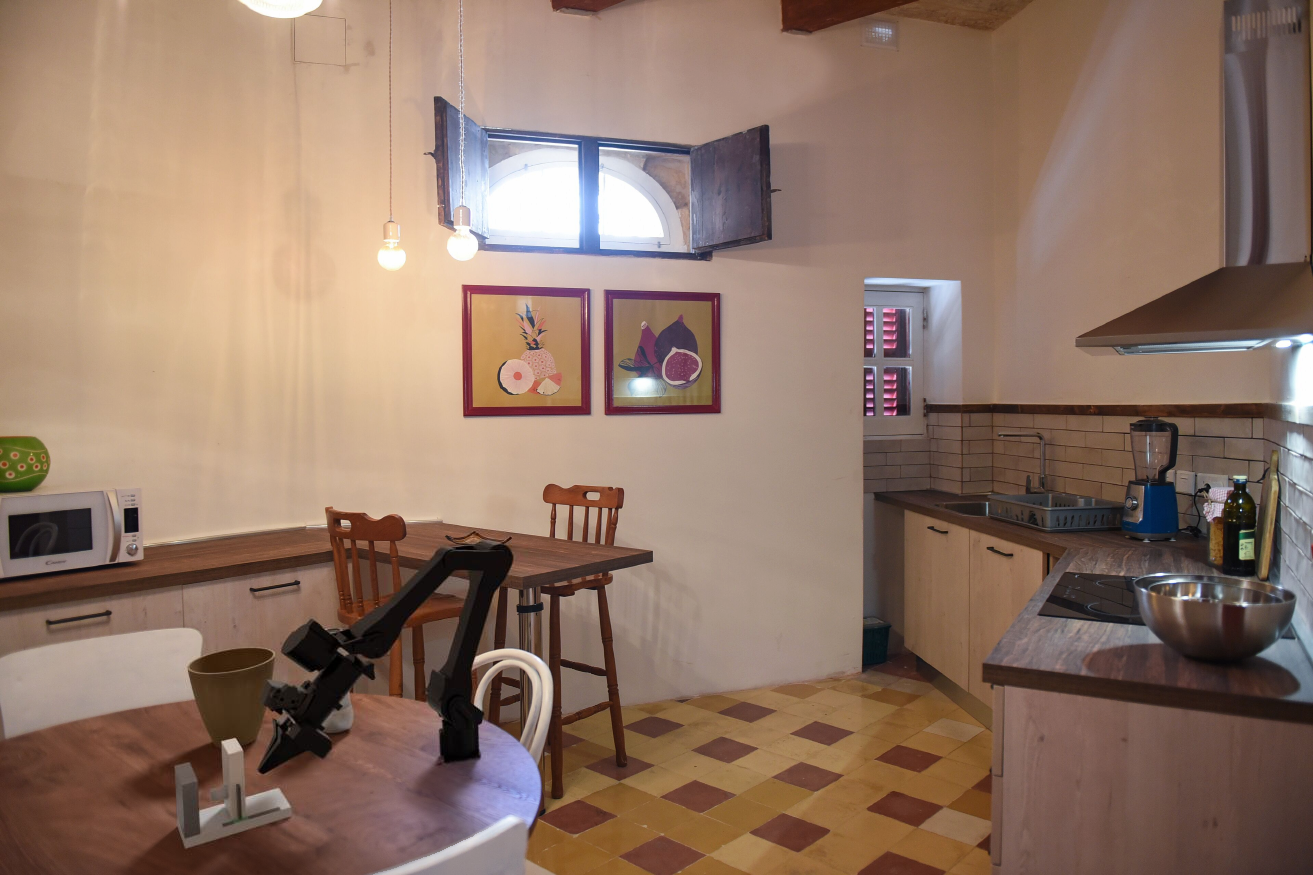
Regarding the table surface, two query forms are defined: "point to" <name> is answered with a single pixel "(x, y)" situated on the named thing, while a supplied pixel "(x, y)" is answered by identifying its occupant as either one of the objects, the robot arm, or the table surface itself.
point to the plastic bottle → (344, 716)
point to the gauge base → (220, 823)
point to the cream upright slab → (232, 780)
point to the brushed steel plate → (187, 800)
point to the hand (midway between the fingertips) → (259, 772)
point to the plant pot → (232, 691)
